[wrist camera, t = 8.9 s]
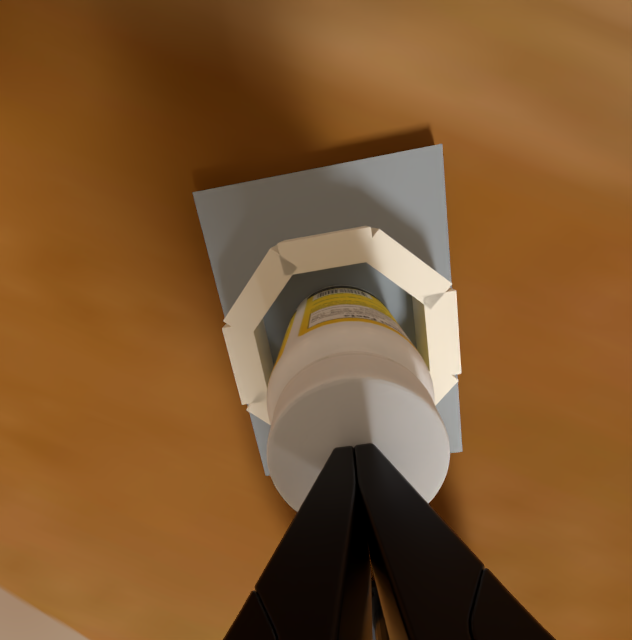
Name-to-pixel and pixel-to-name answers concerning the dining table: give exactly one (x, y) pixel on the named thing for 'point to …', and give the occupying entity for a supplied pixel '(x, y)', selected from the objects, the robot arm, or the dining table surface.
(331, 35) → the dining table surface
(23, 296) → the dining table surface
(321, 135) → the dining table surface
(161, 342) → the dining table surface
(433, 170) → the holder board
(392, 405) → the supplement bottle
